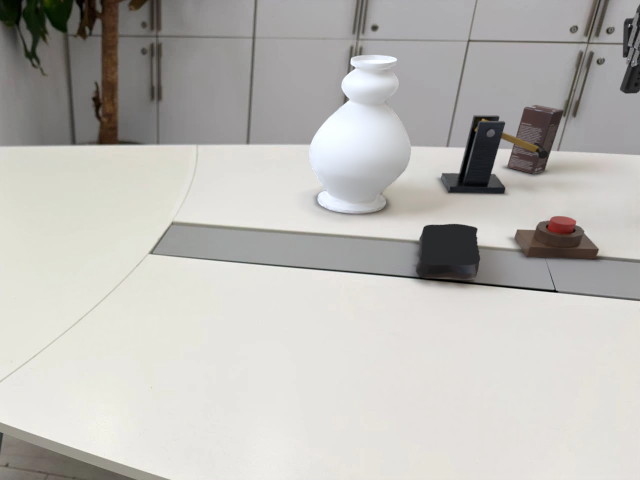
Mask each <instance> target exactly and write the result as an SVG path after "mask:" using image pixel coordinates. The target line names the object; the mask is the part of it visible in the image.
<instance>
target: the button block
mask: <svg viewBox="0 0 640 480" xmlns="http://www.w3.org/2000/svg"><path fill="white" fill-rule="evenodd" d="M549 222H550V220H544V221H540V222H539V223H538V224H537V225H536V227H535V229H516V232H515V235H514V241H515V242H516V243H517V245H518V247H519V248H520V249H521V251H522V252H523V254H524V255H525V256H526V257H527V258H550V259H551V258H552V259H553V258H555V259H579V260H580V259H582V260H583V259H584V260H596V258H597V256H598V253H599V251H600V248H599V247H598V246H597V245H596V243H594V242H593V241H592V240H591V238H589V236H588V235H586V233H585V230H584V229H583V228H582V226H579V225H577V224H576V225H575V228H574V230H573V233H570V234H561V233H556V232H552V231H550V230H548V229H547V227H548V224H549Z"/></svg>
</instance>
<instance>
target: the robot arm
mask: <svg viewBox="0 0 640 480" xmlns="http://www.w3.org/2000/svg"><path fill="white" fill-rule="evenodd" d="M622 32H623V33H622V58H623V59H626V61H625V64H626V65H627V67H626V70H625V73H624V76H623V79H622V82H621V84H620V87H619V91H620V92H622V93H624V94H630V95H631V94H637V93H639V92H640V3H639V5H637V8H636V11H635V15H634V16H633V17H628V18H627V17H626V18H625V20H624V21H623V30H622Z"/></svg>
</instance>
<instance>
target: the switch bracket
mask: <svg viewBox="0 0 640 480" xmlns="http://www.w3.org/2000/svg"><path fill="white" fill-rule="evenodd" d="M482 119H485V120H488V121H481V120H482ZM505 126H506V121H504V120H500V115H489V114H486V115H485V114H484V115H480V114H479V115H478V114H474V115H473V116H472V120H471V124H470V128H469V131H468V132H469V133H468V136H467V140H466V144H465V148H464V152H463V156H462V160H461V164H460V168H459V172H457V173H456V172H454V173H453V172H442V173H441V177H440V181H442V183H443V185H444V187H445V188H446V190H447V192H448V193H452V194H453V193H454V194H456V193H458V194H499V195H504V194H505V192H506V186H505V185H504V183H503V182H502V181H501V180H500V178H499V177H498V176H497V175H496V174H495V173H493V169H494V166H495V161H496V158H497V155H498V151H499V148H500V144H501V140H502V139H501V137H502V133H503V132H504V129H505ZM476 128H477V130H476V131H475V129H476Z"/></svg>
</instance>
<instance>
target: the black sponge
mask: <svg viewBox="0 0 640 480" xmlns="http://www.w3.org/2000/svg"><path fill="white" fill-rule="evenodd" d="M477 233H478V227H476V226H473V225H468V224H462V223H461V224H460V223H446V224H426V225H424V226H423V228H422V231H421V234H420V236H419V238H418V243H419V244H420V245H419V258H418V262H417V265H416V267H415V272H416V274H417V276H418V277H420V278H422V279H441V280H442V279H443V280H456V281H457V280H459V281H466V280H468V281H470V280H474V279H476V278H477V276H478V272H479V267H480V263H481V262H480V261H481V255H480V249H479V244H478V237H477V236H478V235H477Z"/></svg>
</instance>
